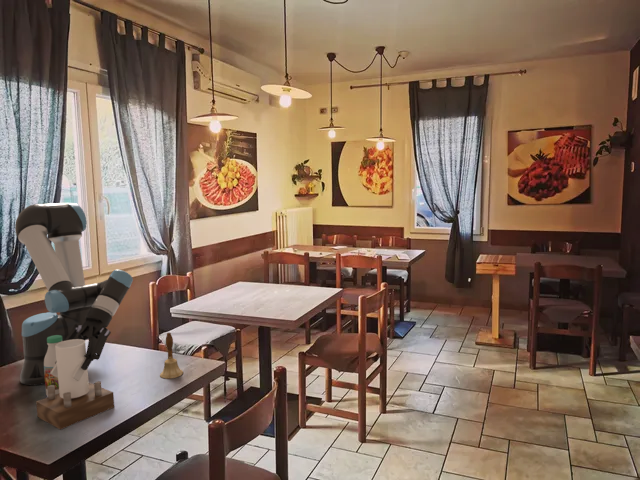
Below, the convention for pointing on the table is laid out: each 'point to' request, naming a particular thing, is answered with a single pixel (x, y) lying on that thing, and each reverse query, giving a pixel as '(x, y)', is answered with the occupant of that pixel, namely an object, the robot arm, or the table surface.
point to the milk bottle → (51, 363)
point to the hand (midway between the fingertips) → (64, 377)
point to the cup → (71, 367)
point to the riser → (74, 406)
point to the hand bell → (170, 362)
